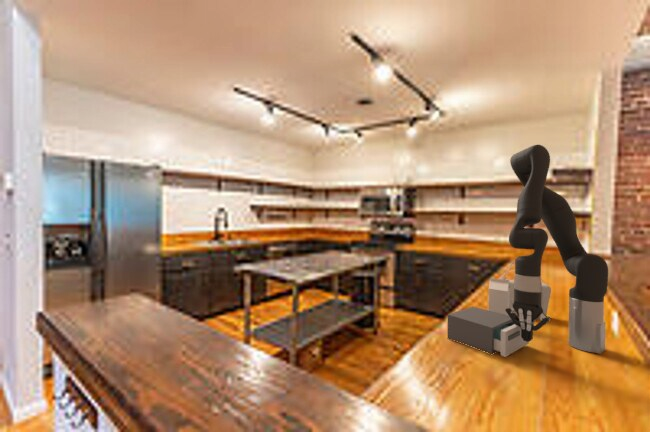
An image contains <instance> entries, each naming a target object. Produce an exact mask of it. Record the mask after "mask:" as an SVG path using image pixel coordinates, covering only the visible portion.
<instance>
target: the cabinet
mask: <svg viewBox="0 0 650 432" xmlns="http://www.w3.org/2000/svg"><path fill="white" fill-rule="evenodd" d="M504 325H506V326H512V325H514V322H513V321H512V319H511V318H510V316H508V315H504V314H500V313H496V312H492V311H488V309H483V308H480V307H476V306H470V307H468V308H464V309H460V310H458V311H454V312H452V313H448V314H447V339H448V338H450V339H452V340H451V341H453V340H455V341H454V342H456V341H458V342H461V343H464V344H467V345H469V346H472V347H475V348H477V349H480V350H482V351H485V352H488V353H490V354H489V355H491V354H493V353H494V354H496V353H498V352H497V350H494V330H495V329H497V328H499V327H502V326H504ZM450 339H449V340H450ZM458 342H457V343H458ZM461 343H460V344H461ZM464 344H463V345H464ZM469 346H468V347H469ZM472 347H471V348H472ZM477 349H476V350H477ZM480 350H479V351H480ZM482 351H481V352H482ZM485 352H484V353H485ZM495 352H496V353H495ZM488 353H487V354H488ZM494 354H493V355H494Z"/></svg>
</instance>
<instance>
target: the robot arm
mask: <svg viewBox="0 0 650 432" xmlns="http://www.w3.org/2000/svg"><path fill="white" fill-rule="evenodd" d="M509 160H510V166H511V169H512V171H513V173H514V174H515V176H516V177H517V179H518V180H519V181H520V183H521V185H522V187H523V189H522V190H521V191H520V194H519V196H518V197H517V198H518V199H517V205H516V216H515V220H514V221H515V222H514V224H513V226H512V228H511V230H510V233H509V236H508V243H509V245H510V246H511V247H512V248H514V249H518V250H519V249H520V250H533V253H531V254H529V255H521V256H516V258H515V261H514V265H515V266H514V270H515V271H514V279H513V280H514V303H513V305H512V307H510V308H507V309H506V310H505V311H506V312H507V314H508V315H509V316H510V318H511V319H512V321H513V322H514V324H515V325H516V326H519V327H520V328H521V337H522V338H523V341H527V342H529V343H530V342H531V341H532V340H533V336H534V335H533V333H534V332H537V331H538V330H540V329H542V328H543V327H544V326H545V325H547V323H549V322H551V320H552V318H551V316H548V315H547V314H546V315H545V314H544V313H543V309H542V307H541V297H542V283H543V281H542V280H541V279H542V276H541V275H542V270H541V269H542V259H543V255H544V252H545V251H546V247H547V244H548V242H549V235H548V232H549V234H550V236H551V238H552V240H553V241H554V243H555V246H556V248H557V250H558V252H559V254H560V257H561V260H562V262H563V265H564V267H565V269H566V270H567V272H568V273H569V274H570V275H572V276H573V277H575V285H574V287H571V288H570V289H569V291H568V345H569V346H571V347H573V349H574V348H575V349H577V350H580V351H584V352H588V353H589V352H590V353H594V354H599V355H601V354H602V353H603V352H604V351H606V322H605V321H604V319H605V318H604V311H605V310H604V309H605V308H604V307H605V305H604V301H605V296H606V294H607V293H608V283H609V266H608V263H607V262H606V260H605V259H604V258H603V257H601V256H599V255H596V254H593V253H588V252H587V251H586V249H585V248H584V247H583V244H582V243H581V241H580V239H579V236H578V232H577V219H576V216H575V214H574V211H573V210H572V208H571V206H570V204H569V203H568V201H567V199H566V198H564V196H562V195H561V194H559V193H558V192H556V191H554V190H552V189H550V188H549V187H547V186H545V185H546V181H547V177H548V174H549V169H550V165H551V155H550V153H549V151H548V149H547V148H546V147H545V146H544V145H542V144H534V145H531V146H528V147H527V148H525V149H523V150H521V151H518V152H517V153H514V154H512V155H511V157H510V159H509ZM541 222H543V224H544V226H545V228H546V229H547V231H548V232H547V231H546V230H545V229H543V228H539V227H529V226H533V225H536V224H539V223H541ZM515 311H516V313H517V314H518V316H517V315H516V314H515ZM539 316H541V318H540V319H539V320H540V321H539V322H538V323H536V325H535V321H536V320H538V317H539Z"/></svg>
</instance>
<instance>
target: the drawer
mask: <svg viewBox="0 0 650 432" xmlns="http://www.w3.org/2000/svg"><path fill="white" fill-rule="evenodd" d="M528 344H530V342H527V341H523V338H522V337H521V328H520V327H519V326H516V325H515V324H514V325H512V326H510V327H507V328H505V329H503V330H501V341H500V340H497V339H494V350H497V351H498V352H500V356H502V357H505V358H506V357H508V356H509V355H511V354H513V353H515V352H517V351H518V350H520V349H522V348H523V347H525V346H527V345H528Z"/></svg>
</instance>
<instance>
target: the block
mask: <svg viewBox="0 0 650 432" xmlns="http://www.w3.org/2000/svg"><path fill="white" fill-rule="evenodd" d="M507 327H510V326H506V325H504V326H502V327H499V328H497V329H495V330H494V339H497V340H500V341H501V330H503V329H505V328H507Z"/></svg>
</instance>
